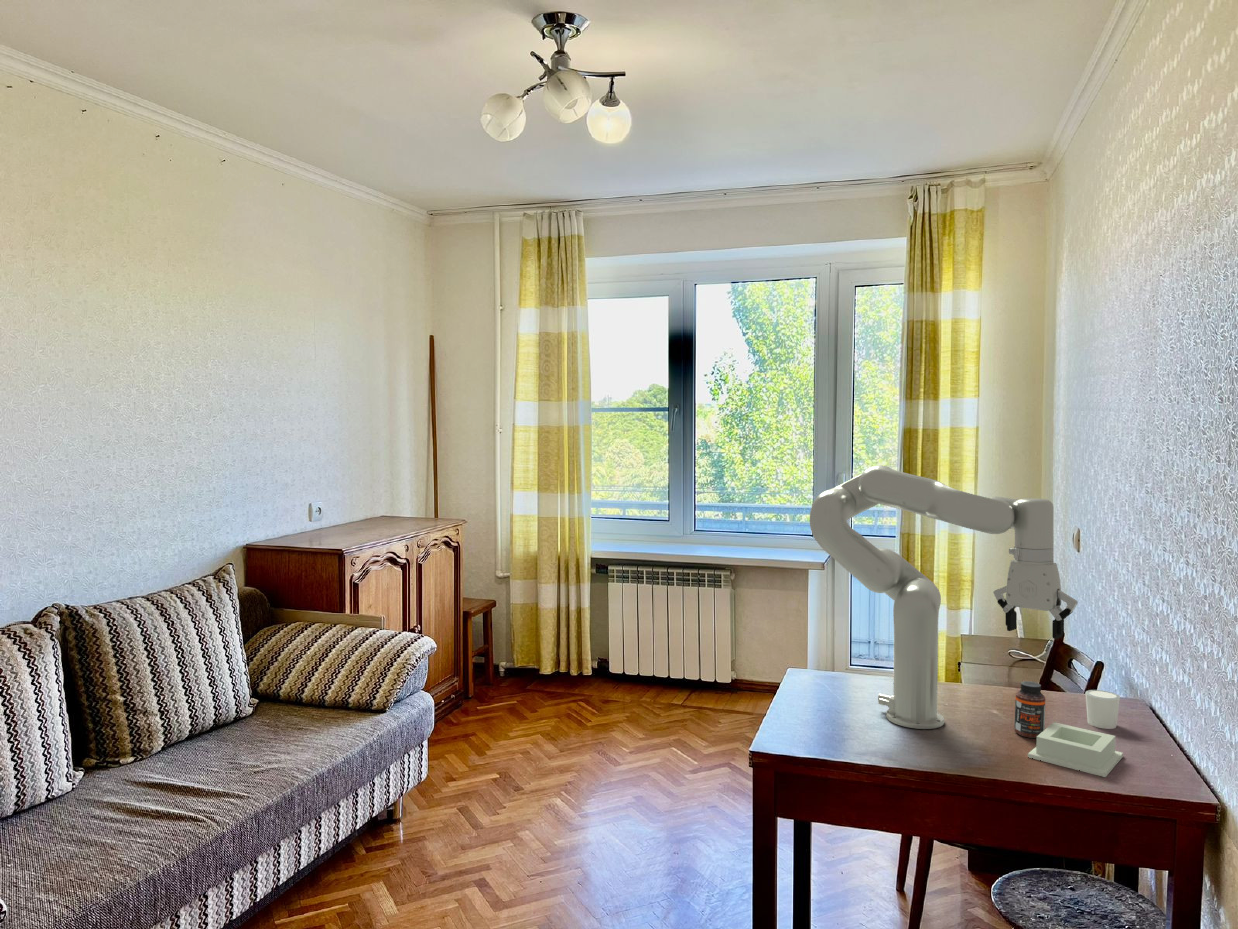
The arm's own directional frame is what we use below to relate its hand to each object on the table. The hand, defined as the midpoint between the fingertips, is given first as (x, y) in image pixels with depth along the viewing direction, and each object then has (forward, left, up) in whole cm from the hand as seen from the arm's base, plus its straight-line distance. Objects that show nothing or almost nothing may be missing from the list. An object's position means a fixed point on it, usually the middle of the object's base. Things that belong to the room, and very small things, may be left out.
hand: (1034, 633), depth 178 cm
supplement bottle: (-1, +1, -23) cm, 23 cm away
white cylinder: (+9, +19, -23) cm, 31 cm away
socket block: (+10, -6, -23) cm, 26 cm away
